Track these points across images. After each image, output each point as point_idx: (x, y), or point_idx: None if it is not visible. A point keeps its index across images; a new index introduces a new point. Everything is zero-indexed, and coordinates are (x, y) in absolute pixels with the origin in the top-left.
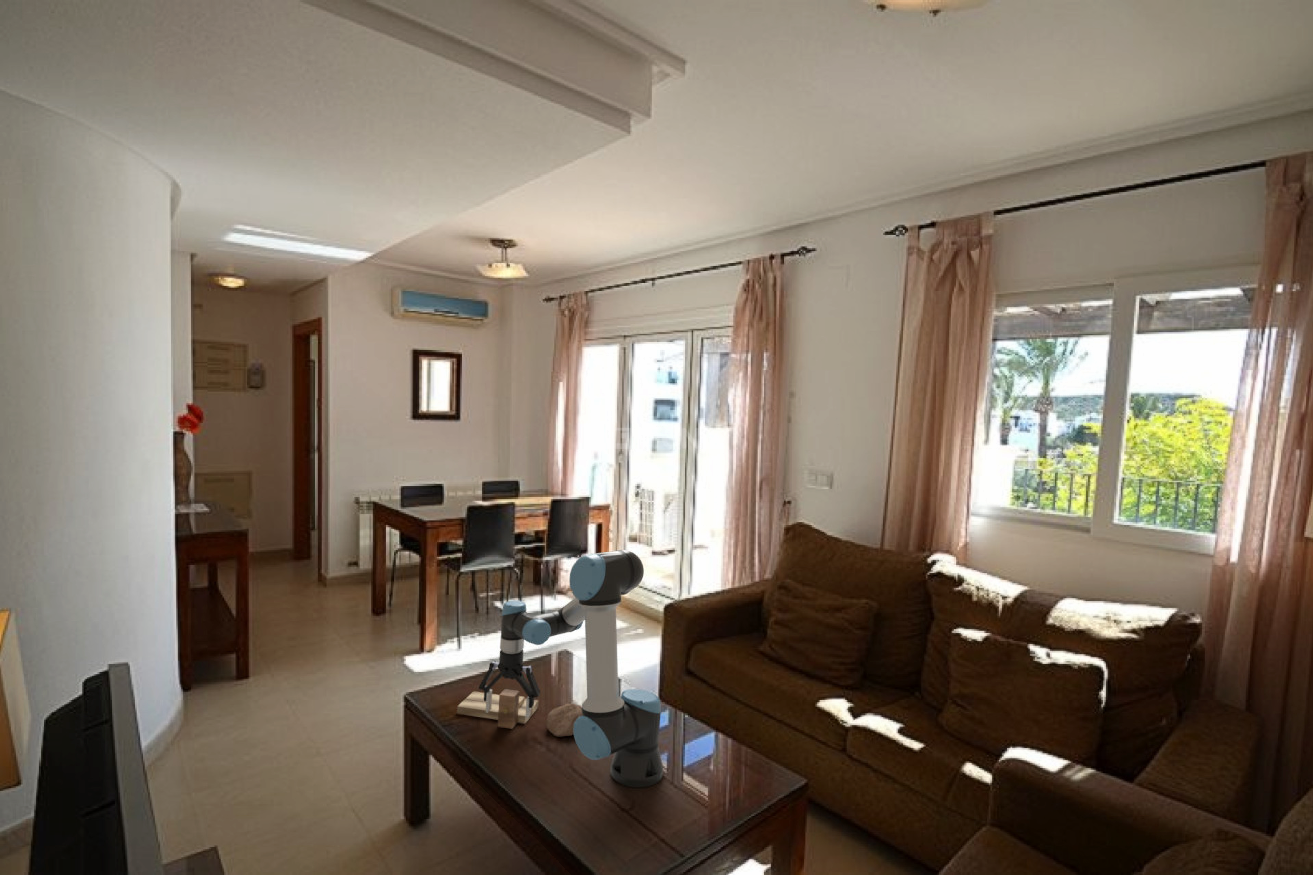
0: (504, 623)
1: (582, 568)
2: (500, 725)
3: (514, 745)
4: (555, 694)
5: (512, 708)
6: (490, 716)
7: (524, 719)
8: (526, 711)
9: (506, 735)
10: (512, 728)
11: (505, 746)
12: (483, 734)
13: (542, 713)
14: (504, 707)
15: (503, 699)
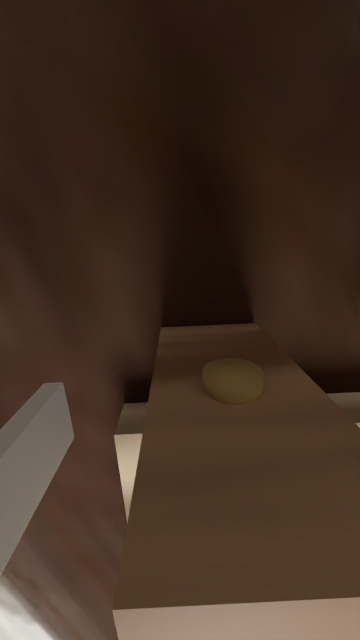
0: None
1: None
2: (240, 327)
3: (44, 133)
4: None
5: (160, 406)
6: (335, 400)
7: (124, 418)
8: (23, 422)
9: (161, 247)
10: (160, 329)
11: (95, 94)
12: (308, 209)
13: (94, 507)
14: (258, 399)
15: (331, 486)
